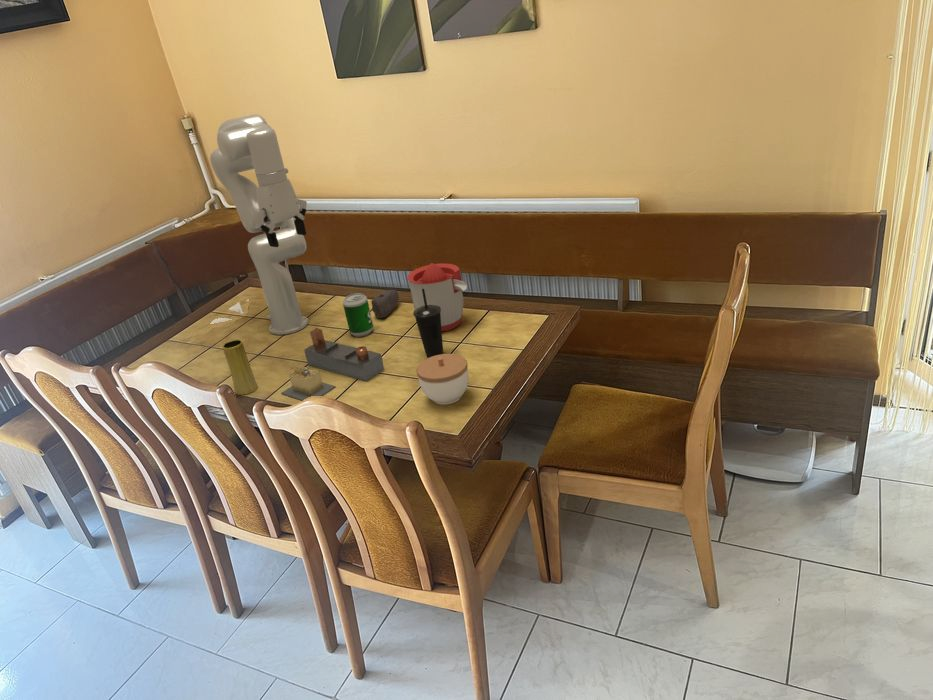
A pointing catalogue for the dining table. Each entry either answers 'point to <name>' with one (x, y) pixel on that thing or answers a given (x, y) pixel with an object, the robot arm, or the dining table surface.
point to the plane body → (343, 358)
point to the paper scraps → (233, 308)
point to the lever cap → (306, 381)
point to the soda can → (358, 314)
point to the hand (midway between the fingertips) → (288, 240)
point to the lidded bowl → (443, 377)
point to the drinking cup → (430, 327)
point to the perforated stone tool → (384, 303)
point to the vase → (239, 367)
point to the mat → (301, 396)
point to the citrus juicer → (439, 291)
